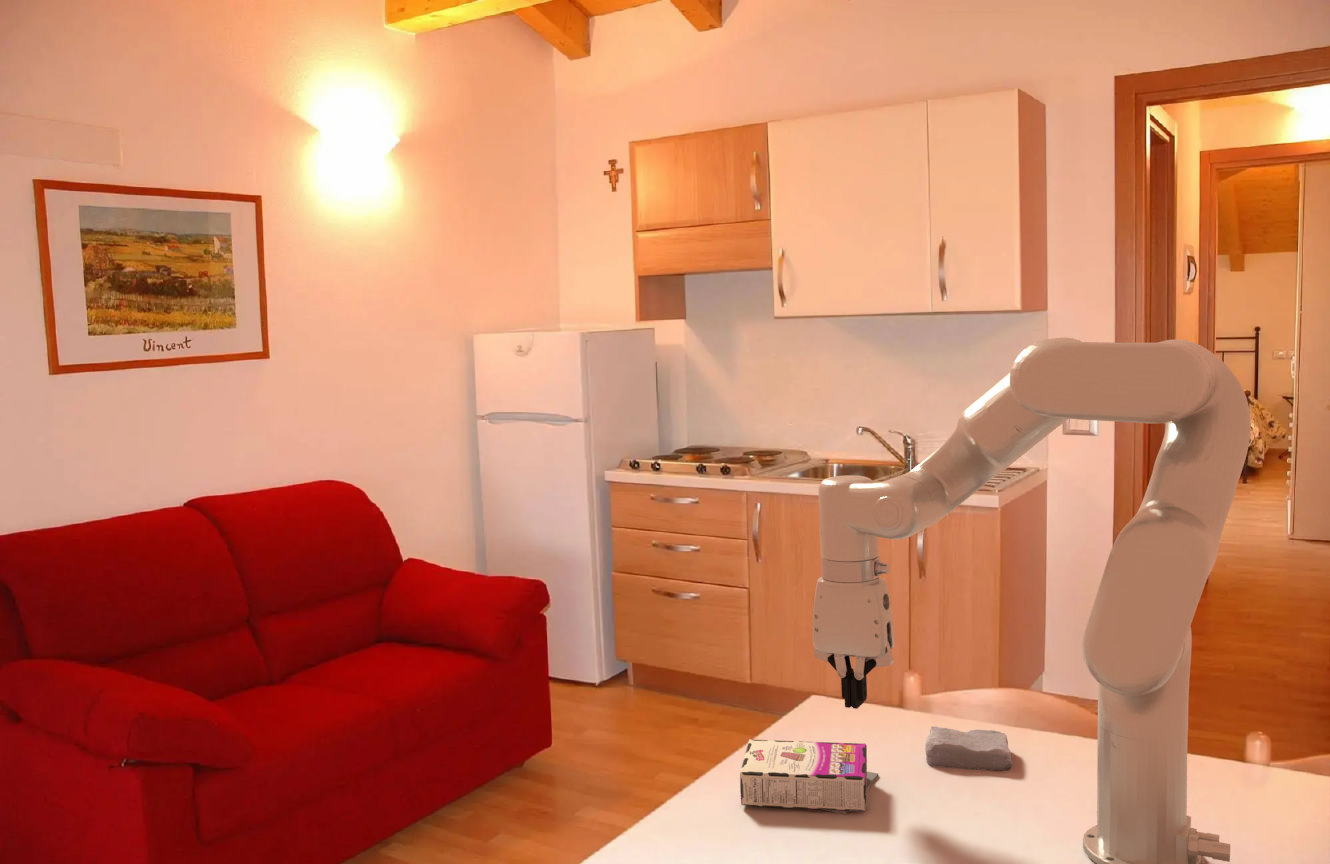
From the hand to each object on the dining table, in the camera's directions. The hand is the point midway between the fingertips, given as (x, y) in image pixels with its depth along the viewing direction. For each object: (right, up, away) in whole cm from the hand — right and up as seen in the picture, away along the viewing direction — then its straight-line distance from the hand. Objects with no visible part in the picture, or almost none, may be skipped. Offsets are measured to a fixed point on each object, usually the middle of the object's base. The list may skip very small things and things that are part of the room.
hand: (854, 704), depth 144 cm
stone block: (+19, -11, +12) cm, 25 cm away
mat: (-5, -12, +4) cm, 14 cm away
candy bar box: (+2, -10, -1) cm, 10 cm away
